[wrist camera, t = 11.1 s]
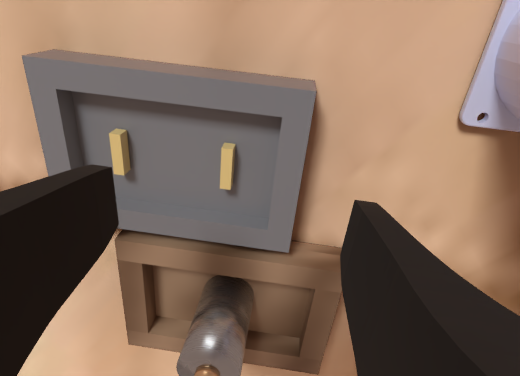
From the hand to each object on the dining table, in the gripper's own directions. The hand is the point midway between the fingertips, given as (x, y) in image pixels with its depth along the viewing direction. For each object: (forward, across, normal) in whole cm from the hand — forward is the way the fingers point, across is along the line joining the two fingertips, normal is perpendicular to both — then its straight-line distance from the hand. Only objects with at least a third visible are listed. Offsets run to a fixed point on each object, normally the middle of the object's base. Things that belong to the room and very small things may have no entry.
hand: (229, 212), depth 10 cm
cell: (+9, +1, +13) cm, 16 cm away
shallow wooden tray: (+10, +1, +13) cm, 16 cm away
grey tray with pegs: (+10, +4, +2) cm, 11 cm away
